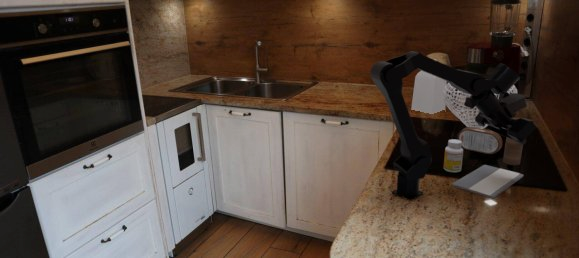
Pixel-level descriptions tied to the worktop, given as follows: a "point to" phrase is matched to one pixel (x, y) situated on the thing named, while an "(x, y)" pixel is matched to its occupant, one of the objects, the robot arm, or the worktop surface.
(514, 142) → the beige tapered cylinder
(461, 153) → the supplement bottle
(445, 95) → the heart
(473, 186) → the slate-grey panel
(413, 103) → the milk
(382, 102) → the worktop surface
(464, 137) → the tin
